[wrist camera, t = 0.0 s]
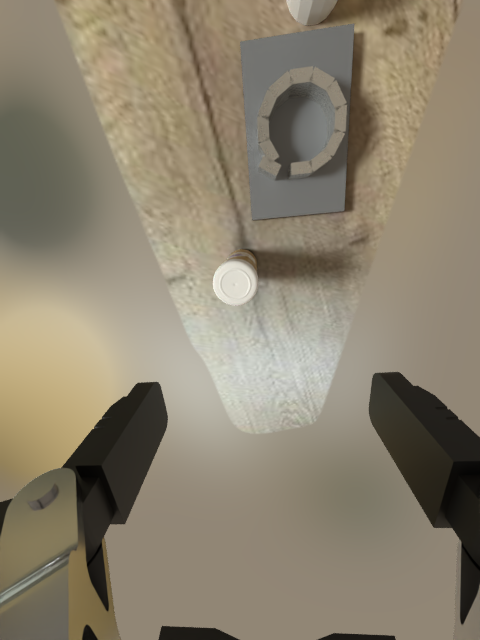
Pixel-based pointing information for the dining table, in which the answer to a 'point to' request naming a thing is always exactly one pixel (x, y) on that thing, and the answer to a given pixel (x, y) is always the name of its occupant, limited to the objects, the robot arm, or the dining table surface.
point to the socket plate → (296, 121)
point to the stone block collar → (321, 92)
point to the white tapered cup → (310, 10)
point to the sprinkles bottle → (237, 278)
